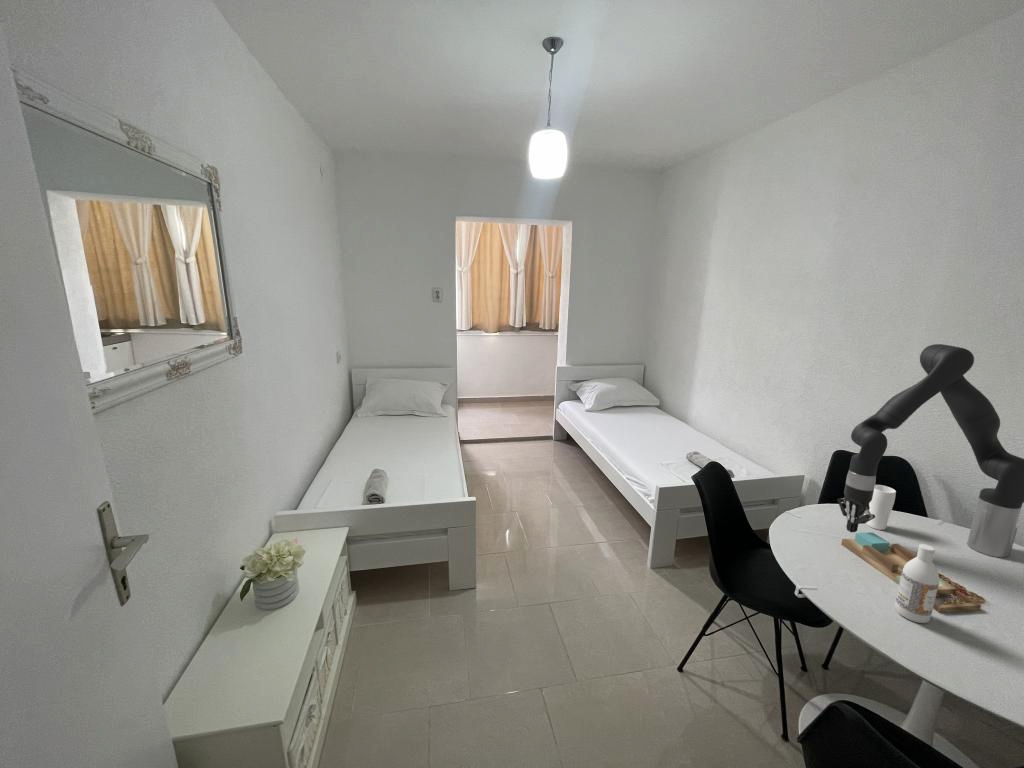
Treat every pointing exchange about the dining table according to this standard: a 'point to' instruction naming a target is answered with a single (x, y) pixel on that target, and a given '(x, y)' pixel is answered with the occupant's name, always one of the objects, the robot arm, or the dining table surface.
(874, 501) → the drinking glass
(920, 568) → the bath foam
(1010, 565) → the dining table surface
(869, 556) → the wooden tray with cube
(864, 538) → the block
